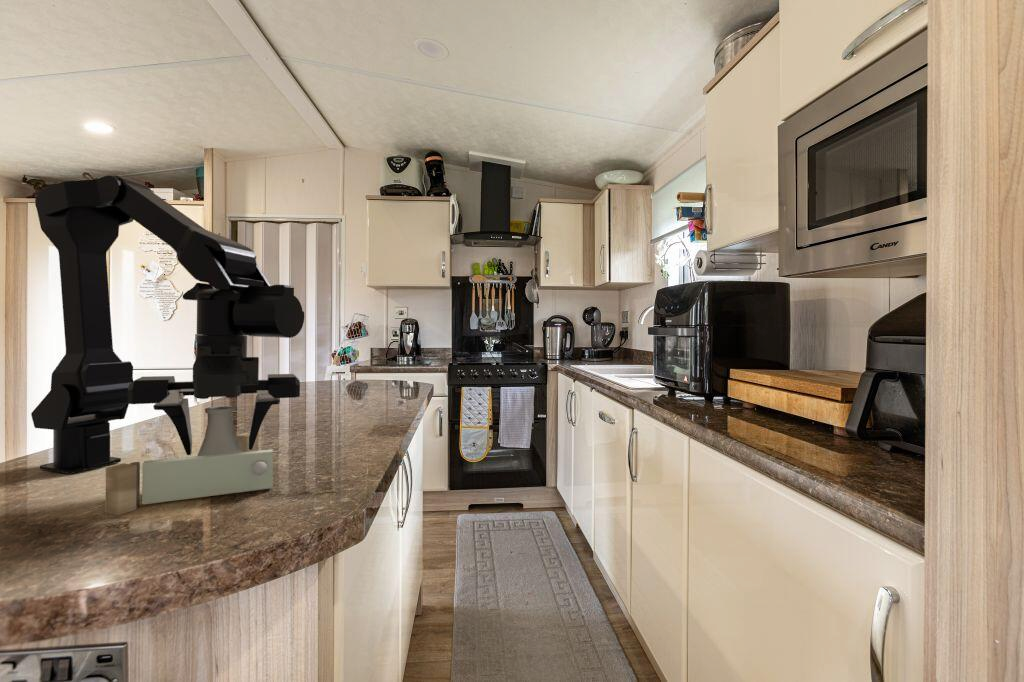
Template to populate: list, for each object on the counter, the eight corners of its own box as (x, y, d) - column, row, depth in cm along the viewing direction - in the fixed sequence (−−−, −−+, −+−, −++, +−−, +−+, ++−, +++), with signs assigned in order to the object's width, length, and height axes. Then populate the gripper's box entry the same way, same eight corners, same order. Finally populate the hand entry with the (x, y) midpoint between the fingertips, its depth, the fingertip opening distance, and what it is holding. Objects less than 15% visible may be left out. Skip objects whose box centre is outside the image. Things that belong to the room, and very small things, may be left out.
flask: (222, 493, 57) (222, 413, 57) (172, 488, 59) (172, 410, 58) (263, 475, 64) (263, 404, 64) (218, 471, 66) (218, 402, 65)
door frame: (105, 512, 50) (105, 467, 50) (247, 465, 69) (247, 432, 68) (118, 515, 50) (119, 469, 50) (257, 466, 68) (258, 433, 68)
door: (144, 500, 53) (144, 460, 53) (272, 485, 60) (272, 449, 60) (140, 507, 51) (140, 466, 51) (272, 490, 58) (273, 453, 58)
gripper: (115, 335, 49) (114, 478, 50) (304, 338, 59) (302, 459, 59) (138, 333, 59) (137, 453, 60) (297, 336, 68) (295, 440, 69)
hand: (220, 451), depth 61 cm, fingers open, 7 cm apart
